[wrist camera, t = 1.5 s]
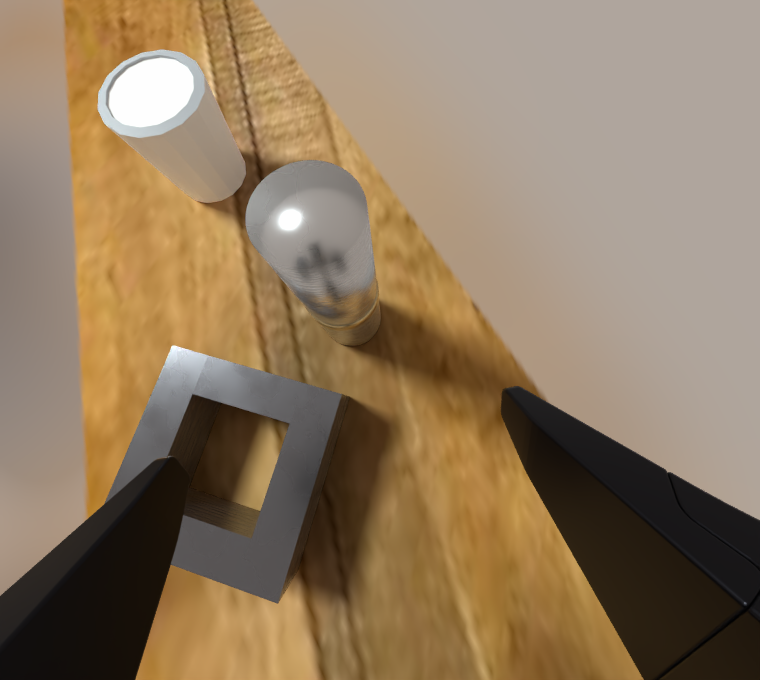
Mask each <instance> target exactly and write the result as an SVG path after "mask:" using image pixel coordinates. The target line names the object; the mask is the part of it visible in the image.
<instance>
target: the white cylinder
mask: <svg viewBox="0 0 760 680" xmlns="http://www.w3.org/2000/svg"><path fill="white" fill-rule="evenodd" d="M98 111H99V113H100V115H101V117H102V119H103V121H104V123H105V125H106V126H108V127H109V128H110V129H111V130H112V131H113V132H115V133H116V134H117V135H118V136H119V137H120V138H121V139H123V140H124V141H125V142H126V143H127V144H128V145H130V146H131V147H132V148H133V149H134V150H135V151H137V152H138V153H139V154H140V155H141V156H142V157H144V158H145V159H146V160H147V161H148V162H149V163H150V164H152V165H153V166H154V167H155V168H156V169H157V170H159V171H160V172H161V173H162V174H163V175H164V176H166V177H167V178H168V179H169V180H170V181H171V182H173V183H174V184H175V185H176V186H177V187H178V188H180V189H181V190H182V191H183V192H184V193H185V194H187V195H188V196H189V197H191V198H192V199H194V200H195V201H199V202H205V203H212V202H218V201H222V200H224V199H226V198H228V197H229V196H231V195H233V194H234V193H235V192H236V191H237V190H238V189H239V187H240V186H241V185H242V183H243V180H244V178H245V175H246V166H245V161H244V159H243V157H242V155H241V153H240V151H239V148H238V146H237V144H236V142H235V140H234V138H233V136H232V133H231V131H230V129H229V127H228V125H227V123H226V121H225V119H224V116H223V114H222V112H221V110H220V108H219V106H218V104H217V101H216V99H215V97H214V95H213V93H212V91H211V89H210V86H209V84H208V82H207V80H206V78H205V76H204V74H203V72H202V71H201V69H200V68H199V66H198V64H197V63H196V61H194V60H193V59H191V58H189V57H188V56H186V55H184V54H183V53H181V52H175V51H168V50H156V51H150V52H144V53H140V54H138V55H136V56H134V57H132V58H130V59H128V60H126V61H124V62H122V63H121V64H120V65H119V66H118V67H117V68H116V69H114V70H113V71H112V72H111V73H110V74H109V75H108V76H107V78H106V80H105V81H104V83H103V85H102V87H101V89H100V91H99V95H98Z"/></svg>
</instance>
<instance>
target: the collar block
mask: <svg viewBox="0 0 760 680" xmlns="http://www.w3.org/2000/svg"><path fill="white" fill-rule="evenodd" d="M349 398H350V397H349V396H346V395H343V394H339V393H336V392H332V391H329V390H325V389H322V388H318V387H315V386H312V385H308V384H305V383H301V382H298V381H294V380H291V379H287V378H284V377H281V376H277V375H274V374H270V373H267V372H263V371H260V370H256V369H253V368H249V367H246V366H243V365H239V364H236V363H232V362H229V361H225V360H222V359H218V358H215V357H211V356H208V355H205V354H201V353H198V352H194V351H191V350H187V349H184V348H180V347H177V346H172V348H171V350H170V353H169V355H168V357H167V360H166V362H165V364H164V367H163V369H162V371H161V374H160V376H159V378H158V381H157V383H156V385H155V388H154V390H153V392H152V395H151V397H150V399H149V401H148V404H147V406H146V408H145V411H144V413H143V415H142V418H141V420H140V422H139V425H138V427H137V429H136V432H135V434H134V436H133V439H132V441H131V443H130V446H129V448H128V450H127V453H126V455H125V457H124V460H123V462H122V464H121V467H120V469H119V471H118V474H117V476H116V478H115V480H114V483H113V485H112V487H111V490H110V492H109V494H108V497H107V499H106V501H105V503H106V502H108V501H109V500H110V499H111V498H112V497H113V496H114V495H115V494H117V493H118V492H119V491H120V490H121V489H122V488H123V487H125V486H126V485H127V484H128V483H129V482H130V481H131V480H133V479H134V478H135V477H136V476H137V475H138V474H139V473H140V472H142V471H143V470H144V469H145V468H146V467H147V466H148V465H150V464H151V463H152V462H153V461H154V460H156V459H158V458H163V457H168V456H173V457H175V458H177V460H178V461H179V462H180V463H181V465H182V466H183V467H184V468H185V469H186V471H187V472H188V473H189V476H190V483H191V480H192V478H193V475H194V473H195V470H196V467H197V465H198V462H199V460H200V457H201V454H202V452H203V449H204V446H205V444H206V441H207V439H208V436H209V433H210V431H211V428H212V426H213V423H214V420H215V418H216V415H217V412H218V410H219V407H220V405H221V403H224V404H227V405H231V406H234V407H237V408H241V409H244V410H247V411H250V412H254V413H257V414H260V415H264V416H267V417H270V418H273V419H277V420H280V421H283V422H287V423H290V424H289V427H288V430H287V433H286V436H285V439H284V442H283V445H282V448H281V451H280V454H279V457H278V460H277V463H276V466H275V469H274V472H273V475H272V478H271V481H270V484H269V487H268V490H267V493H266V496H265V499H264V502H263V505H262V508H261V511H257V510H254V509H251V508H248V507H245V506H242V505H239V504H236V503H233V502H230V501H227V500H224V499H222V498H219V497H216V496H213V495H210V494H207V493H204V492H201V491H198V490H195V489H192V488H189V489H188V494H187V499H186V504H185V509H184V514H183V519H182V523H181V528H180V533H179V537H178V541H177V545H176V548H175V552H174V555H173V559H172V562H171V565H174V566H176V567H179V568H182V569H185V570H187V571H190V572H193V573H195V574H198V575H201V576H204V577H206V578H209V579H212V580H215V581H217V582H220V583H223V584H226V585H228V586H231V587H234V588H237V589H239V590H242V591H245V592H247V593H250V594H253V595H256V596H258V597H261V598H264V599H267V600H269V601H272V602H275V603H279V601H280V599H281V598H282V596H283V594H284V593H285V591H286V589H287V587H288V586H289V584H290V582H291V581H292V579H293V577H294V576H295V574H296V572H297V570H298V568H299V565H300V562H301V558H302V555H303V551H304V548H305V545H306V541H307V538H308V535H309V531H310V528H311V525H312V521H313V518H314V515H315V511H316V508H317V505H318V501H319V498H320V495H321V491H322V488H323V485H324V481H325V478H326V475H327V471H328V468H329V465H330V461H331V458H332V454H333V451H334V448H335V444H336V441H337V438H338V434H339V431H340V428H341V424H342V421H343V418H344V414H345V411H346V408H347V404H348V401H349ZM189 486H190V485H189Z"/></svg>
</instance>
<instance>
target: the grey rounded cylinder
mask: <svg viewBox="0 0 760 680" xmlns="http://www.w3.org/2000/svg"><path fill="white" fill-rule="evenodd" d="M245 221H246V229H247V233H248V236H249V238H250V240H251V242H252V244H253V245H254V247H255V248H256V249H257V251H258V252H259V253H260V254H261V255H262V256H263V258H264V259H265V260H266V261H267V262H268V264H269V265H270V266H271V267H272V268H273V269H274V271H275V272H276V273H277V274H278V275H279V276H280V278H281V279H282V280H283V281H284V282H285V284H286V285H287V286H288V287H289V288H290V289H291V291H292V292H293V293H294V294H295V295H296V297H297V298H298V299H299V300H300V301H301V302H302V304H303V305H304V306H305V307H306V309H307V310H308V312H309V313H310V314H311V316H312V317H313V318H314V319H315V320H316V321H317V322H318V323H319V324H320V325H321V326H322V327H323V328H324V330H325V331H326V332H327V333H328V334H329V335H330V337H331V338H332V339H333V340H335V341H336V342H338V343H340V344H343V345H347V346H356V345H360V344H363V343H365V342H367V341H368V340H370V339H371V338H372V337H373V336H374V335H375V334H376V332H377V330H378V329H379V326H380V322H381V313H380V305H379V290H378V283H377V279H376V273H375V265H374V257H373V249H372V241H371V232H370V224H369V216H368V208H367V202H366V197H365V194H364V192H363V190H362V188H361V186H360V184H359V183H358V182H357V180H356V179H355V178H354V177H353V176H352V175H351V174H350V173H348V172H347V171H346V170H344V169H343V168H341V167H339V166H337V165H334V164H332V163H328V162H324V161H318V160H306V161H298V162H294V163H290V164H287V165H285V166H283V167H280V168H278V169H277V170H275V171H273V172H272V173H270V174H269V175H268V176H267V177H265V178H264V179H263V180H262V181H261V182H260V183H259V185H258V186H257V187H256V189H255V190H254V192H253V193H252V195H251V197H250V199H249V202H248V205H247V209H246V219H245Z"/></svg>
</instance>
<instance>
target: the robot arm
mask: <svg viewBox="0 0 760 680" xmlns="http://www.w3.org/2000/svg"><path fill="white" fill-rule="evenodd" d="M501 415H502V418H503V421H504V423H505V425H506V427H507V430H508V432H509V434H510V437H511V439H512V441H513V444H514V446H515V448H516V451H517V453H518V455H519V458H520V460H521V462H522V464H523V466H524V469H525V471H526V473H527V474H528V476H529V478H530V480H531V482H532V484H533V485H534V487H535V489H536V491H537V492H538V494H539V496H540V498H541V499H542V501H543V503H544V505H545V506H546V508H547V510H548V512H549V514H550V515H551V517H552V519H553V521H554V522H555V524H556V526H557V528H558V529H559V531H560V533H561V535H562V536H563V538H564V540H565V542H566V543H567V545H568V547H569V549H570V550H571V552H572V554H573V556H574V558H575V559H576V561H577V563H578V565H579V566H580V568H581V570H582V572H583V573H584V575H585V577H586V579H587V580H588V582H589V584H590V586H591V587H592V589H593V591H594V593H595V595H596V596H597V598H598V600H599V602H600V603H601V605H602V607H603V609H604V610H605V612H606V614H607V616H608V617H609V619H610V621H611V623H612V624H613V626H614V628H615V630H616V631H617V633H618V635H619V637H620V639H621V640H622V642H623V644H624V646H625V647H626V649H627V651H628V653H629V654H630V656H631V658H632V660H633V661H634V663H635V665H636V667H637V668H638V670H639V672H640V674H641V676H642V677H643V679H644V680H760V520H758V519H756V518H754V517H752V516H750V515H748V514H746V513H744V512H743V511H740V510H738V509H737V508H735V507H733V506H731V505H729V504H727V503H725V502H723V501H721V500H720V499H718V498H716V497H714V496H712V495H710V494H709V493H707V492H705V491H703V490H701V489H700V488H698V487H696V486H694V485H692V484H690V483H689V482H687V481H685V480H683V479H682V478H680V477H678V476H676V475H674V474H673V473H671V472H668V473H667V471H666V470H665V469H664V468H662V467H660V466H658V465H657V464H655V463H653V462H652V461H650V460H648V459H646V458H644V457H643V456H641V455H639V454H637V453H636V452H634V451H632V450H630V449H629V448H627V447H625V446H623V445H622V444H620V443H618V442H616V441H615V440H613V439H611V438H609V437H608V436H606V435H604V434H602V433H600V432H599V431H597V430H595V429H593V428H592V427H590V426H588V425H586V424H585V423H583V422H581V421H579V420H578V419H576V418H574V417H572V416H570V415H569V414H567V413H565V412H564V411H562V410H560V409H558V408H557V407H555V406H553V405H551V404H550V403H548V402H546V401H544V400H542V399H541V398H539V397H537V396H535V395H534V394H532V393H530V392H528V391H527V390H525V389H523V388H521V387H519V386H514V387H509V388H505V389H503V391H502V400H501ZM189 485H190V476H189V473H188V472H187V471H186V469H185V468H184V467H183V466H182V465H181V463H180V462H179V461H178V460H177V458H175V457H173V456H168V457H163V458H158V459H156V460H154V461H153V462H152V463H151V464H150V465H148V466H147V467H146V468H145V469H144V470H143V471H142V472H140V473H139V474H138V475H137V476H136V477H135V478H134V479H133V480H131V481H130V482H129V483H128V484H127V485H126V486H125V487H123V488H122V489H121V490H120V491H119V492H118V493H117V494H115V495H114V496H113V497H112V498H111V499H110V500H109V501H108V502H106V503H105V504H104V505H103V506H102V507H101V508H100V509H98V510H97V511H96V512H95V513H94V514H93V515H92V516H91V517H89V518H88V519H87V520H86V521H85V522H84V523H83V524H81V525H80V526H79V527H78V528H77V529H76V530H75V531H73V532H72V533H71V534H70V535H69V536H68V537H67V538H66V539H64V540H63V541H62V542H61V543H60V544H59V545H58V546H57V547H55V548H54V549H53V550H52V551H51V552H50V553H49V554H47V555H46V556H45V557H44V558H43V559H42V560H41V561H40V562H38V563H37V564H36V565H35V566H34V567H33V568H32V569H30V570H29V571H28V572H27V573H26V574H25V575H24V576H22V578H20V579H19V580H18V581H17V582H16V583H15V584H13V585H12V586H11V587H10V588H9V589H8V590H7V591H5V592H4V593H3V594H2V595H1V596H0V680H135V679H136V676H137V673H138V669H139V666H140V663H141V660H142V656H143V653H144V650H145V646H146V643H147V640H148V637H149V633H150V630H151V627H152V624H153V620H154V617H155V614H156V611H157V607H158V604H159V601H160V598H161V594H162V591H163V588H164V585H165V581H166V578H167V575H168V572H169V568H170V565H171V562H172V559H173V555H174V552H175V548H176V545H177V541H178V537H179V533H180V528H181V523H182V519H183V514H184V509H185V504H186V499H187V494H188V489H189Z"/></svg>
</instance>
